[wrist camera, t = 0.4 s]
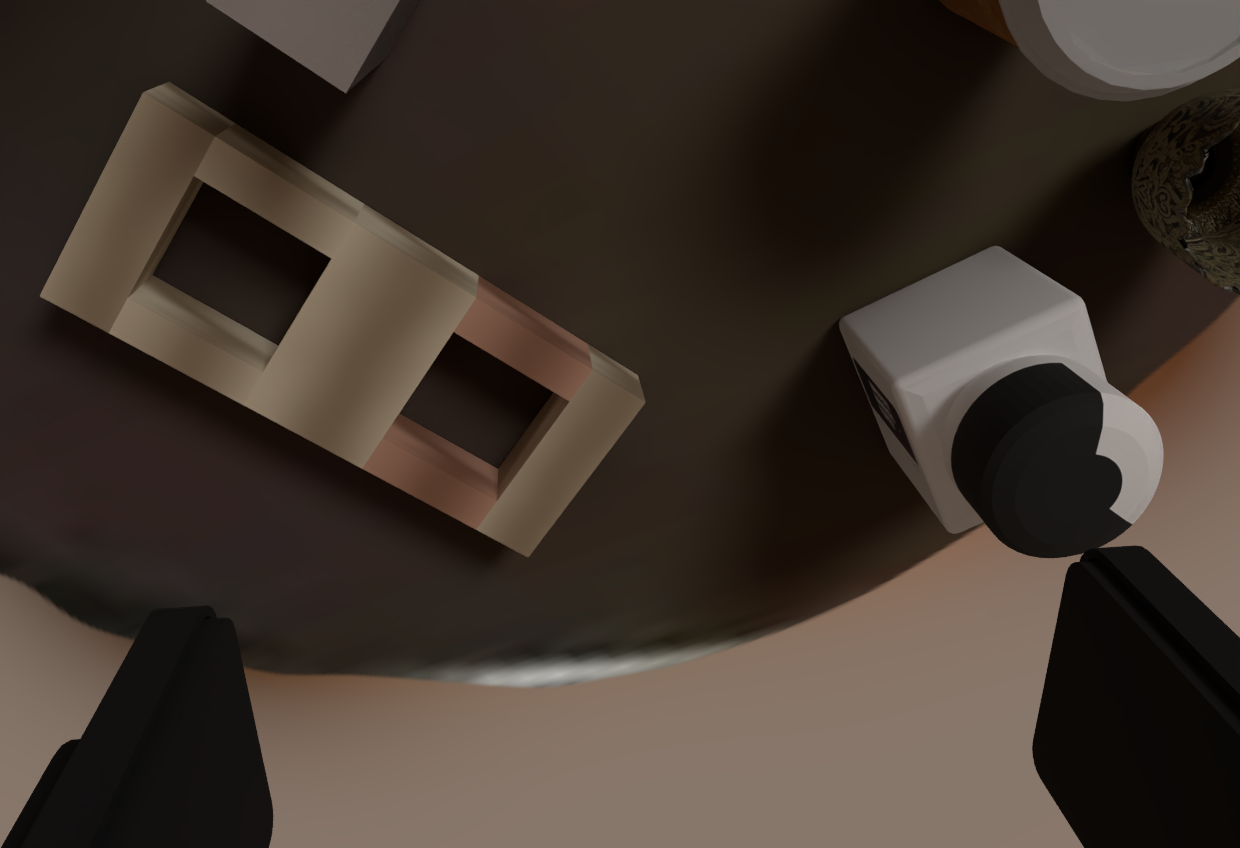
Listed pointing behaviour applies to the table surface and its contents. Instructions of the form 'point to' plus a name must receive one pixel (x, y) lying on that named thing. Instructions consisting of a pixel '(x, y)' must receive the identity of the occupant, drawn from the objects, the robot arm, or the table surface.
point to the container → (1005, 407)
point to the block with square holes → (337, 323)
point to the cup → (1194, 185)
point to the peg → (326, 32)
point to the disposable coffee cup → (1115, 41)
